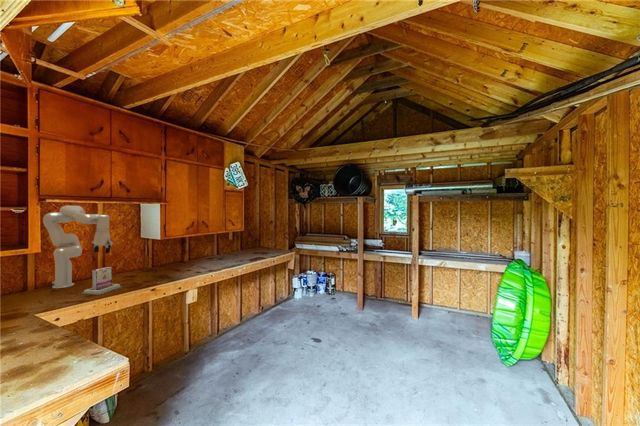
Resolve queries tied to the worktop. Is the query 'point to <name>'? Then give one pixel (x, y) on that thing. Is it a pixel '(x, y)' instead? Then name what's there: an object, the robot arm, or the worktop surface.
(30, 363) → the worktop surface
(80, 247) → the robot arm
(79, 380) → the worktop surface
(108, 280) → the candy bar box
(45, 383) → the worktop surface
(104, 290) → the light blue tray
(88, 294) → the rubber mat
